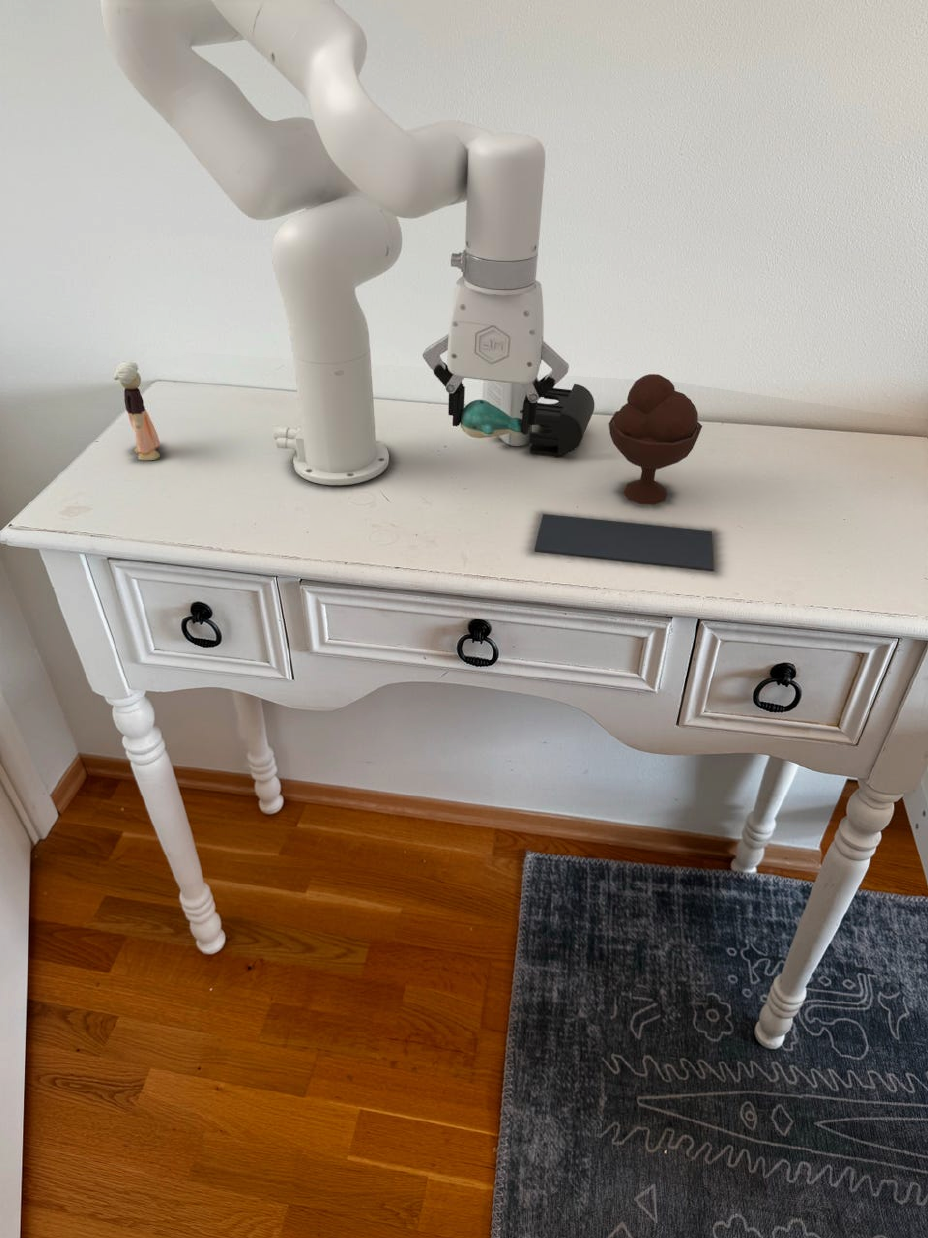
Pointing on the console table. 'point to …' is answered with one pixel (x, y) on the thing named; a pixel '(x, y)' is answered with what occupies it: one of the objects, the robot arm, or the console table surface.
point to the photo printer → (507, 406)
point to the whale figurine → (487, 420)
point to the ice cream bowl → (654, 433)
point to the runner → (626, 542)
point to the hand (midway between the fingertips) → (491, 424)
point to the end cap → (562, 421)
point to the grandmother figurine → (137, 411)
